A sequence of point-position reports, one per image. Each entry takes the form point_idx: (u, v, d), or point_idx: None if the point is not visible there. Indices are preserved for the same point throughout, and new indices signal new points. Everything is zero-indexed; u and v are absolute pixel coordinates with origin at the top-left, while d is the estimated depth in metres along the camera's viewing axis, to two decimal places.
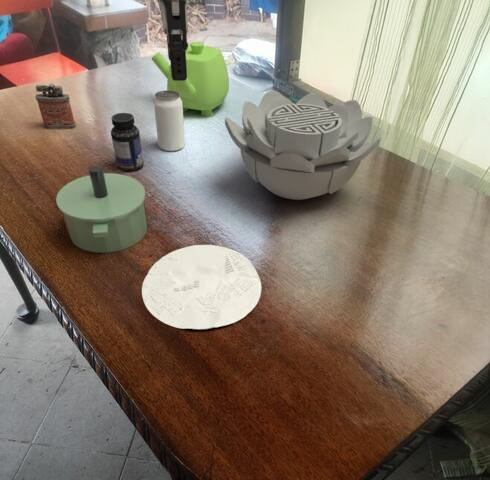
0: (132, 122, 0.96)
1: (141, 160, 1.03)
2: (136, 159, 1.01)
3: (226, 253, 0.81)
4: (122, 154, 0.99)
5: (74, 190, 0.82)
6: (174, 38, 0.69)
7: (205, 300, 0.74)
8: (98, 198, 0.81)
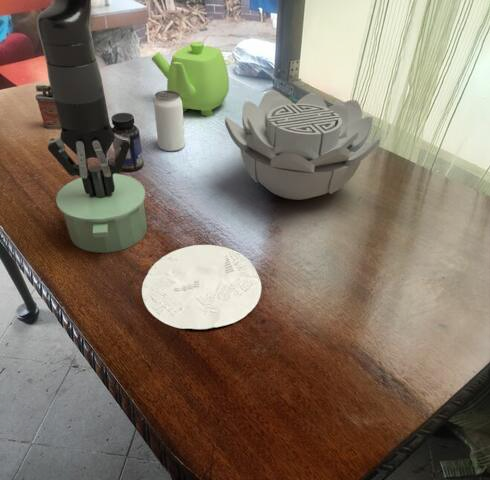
0: (132, 122, 0.96)
1: (141, 160, 1.03)
2: (136, 159, 1.01)
3: (226, 253, 0.81)
4: None
5: (74, 190, 0.82)
6: None
7: (205, 300, 0.74)
8: (98, 198, 0.81)
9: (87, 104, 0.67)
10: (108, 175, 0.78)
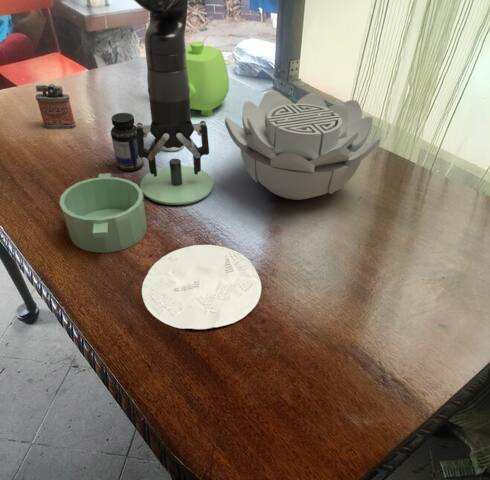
0: (132, 122, 0.96)
1: (141, 160, 1.03)
2: (136, 159, 1.01)
3: (226, 253, 0.81)
4: (122, 154, 0.99)
5: (153, 179, 0.98)
6: (193, 159, 0.94)
7: (205, 300, 0.74)
8: (175, 186, 0.97)
9: (178, 102, 0.82)
10: (198, 156, 0.93)
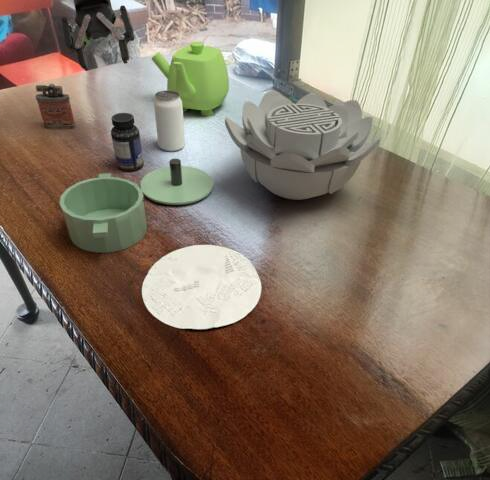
0: (132, 122, 0.96)
1: (141, 160, 1.03)
2: (136, 159, 1.01)
3: (226, 253, 0.81)
4: (122, 154, 0.99)
5: (153, 179, 0.98)
6: (84, 54, 0.97)
7: (205, 300, 0.74)
8: (175, 186, 0.97)
9: None
10: None
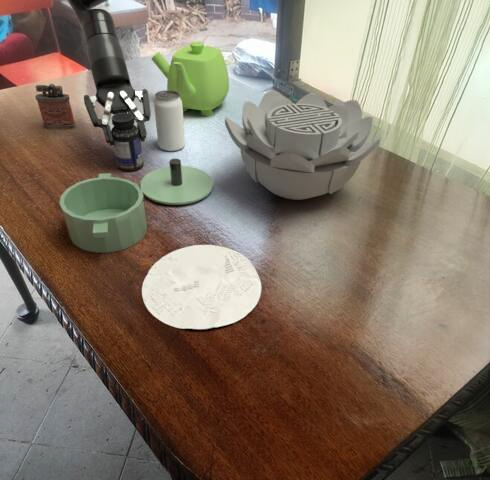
0: (132, 122, 0.96)
1: (141, 160, 1.03)
2: (136, 159, 1.01)
3: (226, 253, 0.81)
4: (122, 154, 0.99)
5: (153, 179, 0.98)
6: None
7: (205, 300, 0.74)
8: (175, 186, 0.97)
9: None
10: None
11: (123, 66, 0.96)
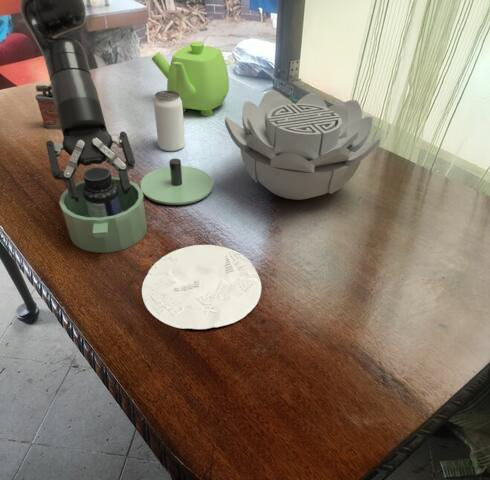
0: (108, 180, 0.79)
1: None
2: None
3: (226, 253, 0.81)
4: (97, 216, 0.82)
5: (153, 179, 0.98)
6: None
7: (205, 300, 0.74)
8: (175, 186, 0.97)
9: None
10: None
11: (96, 108, 0.78)
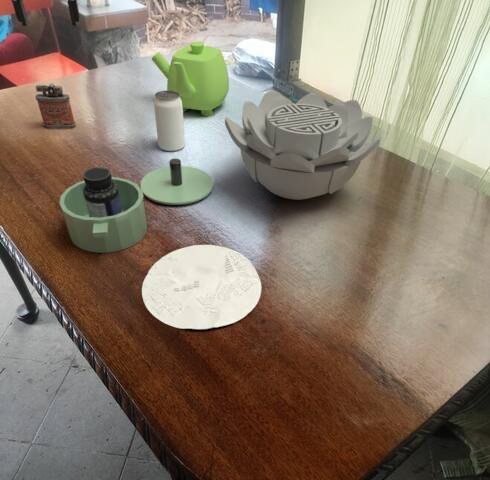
0: (108, 180, 0.79)
1: None
2: None
3: (226, 253, 0.81)
4: (97, 216, 0.82)
5: (153, 179, 0.98)
6: (22, 3, 0.79)
7: (205, 300, 0.74)
8: (175, 186, 0.97)
9: None
10: None
11: None
